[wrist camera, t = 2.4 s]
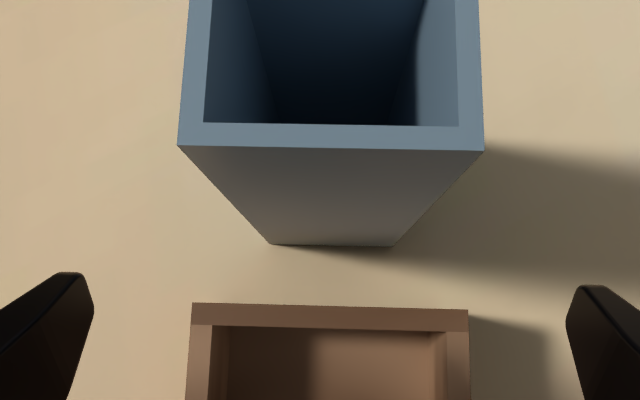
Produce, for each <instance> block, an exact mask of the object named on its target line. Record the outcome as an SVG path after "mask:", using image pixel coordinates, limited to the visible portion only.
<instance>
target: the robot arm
mask: <svg viewBox="0 0 640 400" xmlns="http://www.w3.org/2000/svg"><path fill="white" fill-rule="evenodd" d="M93 315H94V304H93V301H92V298H91V295H90V292H89V289H88V286H87V283H86V280H85V277H84V276H83V275H82V274H81V273H78V272H59V273H56V274H55V275H53V276H51V277H50V278H48V279H47V280H45V281H44V282H42V283H41V284H39V285H37V286H36V287H34V288H33V289H31V290H30V291H28V292H27V293H25V294H24V295H22V296H20V297H19V298H17V299H16V300H14V301H13V302H11V303H10V304H8V305H7V306H5V307H3V308H2V309H0V400H66V399H67V396H68V394H69V391H70V388H71V386H72V383H73V380H74V377H75V373H76V370H77V367H78V364H79V361H80V358H81V354H82V351H83V348H84V345H85V342H86V338H87V335H88V332H89V329H90V326H91V323H92V319H93ZM566 331H567V335H568V339H569V343H570V346H571V350H572V354H573V358H574V362H575V365H576V369H577V373H578V377H579V380H580V384H581V388H582V392H583V396H584V399H585V400H640V311H639V310H638V309H637V308H635V307H634V306H632V305H631V304H630V303H628V302H627V301H625V300H624V299H623V298H621V297H620V296H618V295H617V294H616V293H614V292H613V291H611V290H610V289H609V288H607V287H605V286H602V285H581V286H579V287H578V288H577V290H576V292H575V294H574V297H573V300H572V302H571V305H570V308H569V310H568V313H567V316H566Z"/></svg>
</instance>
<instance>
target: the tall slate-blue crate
mask: <svg viewBox="0 0 640 400" xmlns="http://www.w3.org/2000/svg"><path fill="white" fill-rule="evenodd" d="M177 146H178V147H179V148H180V149H181V150H182V151H183V152H184V153H185V154H186V155H187V157H188V158H189V159H190V160H191V161H192V162H193V163H194V164H195V165H196V166H197V167H198V168H199V169H200V170H201V171H202V172H203V174H204V175H205V176H206V177H207V178H208V179H209V180H210V181H211V182H212V183H213V184H214V185H215V186H216V187H217V188H218V190H219V191H220V192H221V193H222V194H223V195H224V196H225V197H226V198H227V199H228V200H229V201H230V202H231V203H232V204H233V205H234V207H235V208H236V209H237V210H238V211H239V212H240V213H241V214H242V215H243V216H244V217H245V218H246V219H247V220H248V221H249V222H250V224H251V225H252V226H253V227H254V228H255V229H256V230H257V231H258V232H259V233H260V234H261V235H262V236H263V237H264V238H265V240H266V241H267V242H268V243H269V244H289V245H332V246H376V247H393V245H394V244H395V243H396V242H397V241H398V240H399V239H400V238H401V237H402V236H403V235H404V234H405V233H406V232H407V231H408V230H409V229H410V228H411V227H412V226H413V225H414V224H415V223H416V222H417V221H418V219H419V218H420V217H421V216H422V215H423V214H424V213H425V212H426V211H427V210H428V209H429V208H430V207H431V206H432V205H433V204H434V203H435V202H436V201H437V200H438V199H439V198H440V197H441V196H442V195H443V193H444V192H445V191H446V190H447V189H448V188H449V187H450V186H451V185H452V184H453V183H454V182H455V181H456V180H457V179H458V178H459V177H460V176H461V175H462V174H463V173H464V172H465V171H466V170H467V169H468V168H469V166H470V165H471V164H472V163H473V162H474V161H475V160H476V159H477V158H478V157H479V156H480V155H481V154H482V153H483V152H484V151H485V147H484V123H483V99H482V75H481V51H480V28H479V4H478V0H189V11H188V22H187V34H186V45H185V57H184V68H183V80H182V91H181V103H180V114H179V126H178V137H177Z"/></svg>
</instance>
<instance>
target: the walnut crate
mask: <svg viewBox="0 0 640 400" xmlns="http://www.w3.org/2000/svg"><path fill="white" fill-rule="evenodd" d="M185 400H471V387H470V357H469V327H468V310H459V309H421V308H383V307H345V306H307V305H269V304H230V303H192V313H191V326H190V340H189V353H188V366H187V379H186V393H185Z"/></svg>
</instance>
